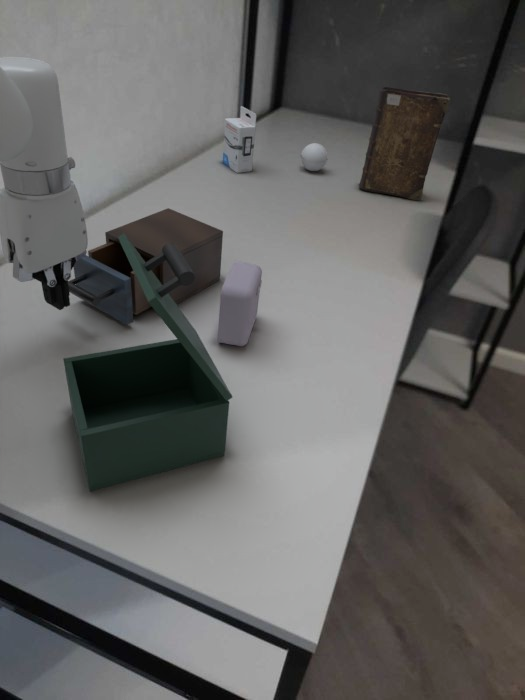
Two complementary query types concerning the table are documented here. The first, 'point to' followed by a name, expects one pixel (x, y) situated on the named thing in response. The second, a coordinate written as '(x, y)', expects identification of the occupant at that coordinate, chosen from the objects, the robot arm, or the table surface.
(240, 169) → the ink box
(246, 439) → the table surface
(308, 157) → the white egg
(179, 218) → the cabinet
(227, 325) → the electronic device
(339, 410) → the table surface
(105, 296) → the drawer
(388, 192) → the book
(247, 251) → the table surface
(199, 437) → the chest
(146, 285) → the chest lid
